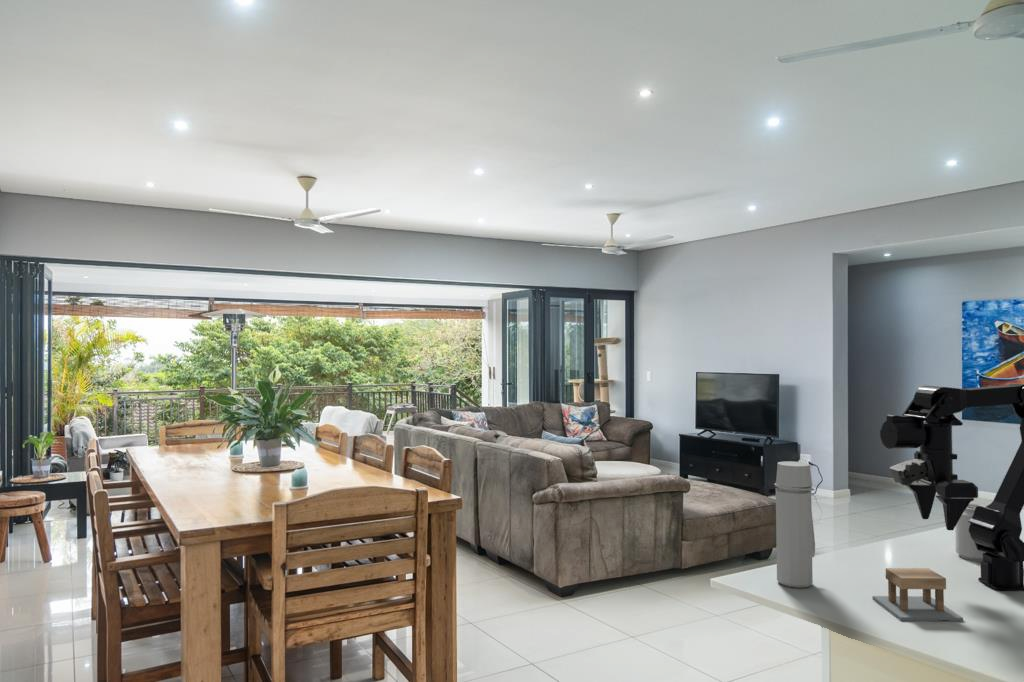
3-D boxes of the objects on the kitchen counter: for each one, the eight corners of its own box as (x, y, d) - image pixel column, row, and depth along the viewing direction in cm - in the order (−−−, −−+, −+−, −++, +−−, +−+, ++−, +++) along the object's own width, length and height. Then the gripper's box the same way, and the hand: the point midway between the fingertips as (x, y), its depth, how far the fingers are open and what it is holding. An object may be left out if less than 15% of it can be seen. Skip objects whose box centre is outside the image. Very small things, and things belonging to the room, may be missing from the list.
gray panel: (930, 599, 138) (930, 596, 138) (963, 621, 127) (963, 617, 127) (872, 599, 139) (872, 596, 139) (900, 620, 128) (900, 617, 128)
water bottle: (795, 591, 143) (794, 467, 144) (767, 580, 151) (765, 462, 151) (829, 585, 147) (827, 464, 147) (800, 574, 154) (798, 459, 155)
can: (993, 555, 167) (992, 504, 167) (994, 564, 160) (993, 510, 161) (956, 551, 171) (955, 501, 171) (955, 559, 164) (954, 507, 165)
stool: (886, 600, 136) (885, 568, 136) (929, 600, 136) (928, 568, 136) (901, 612, 130) (901, 578, 130) (946, 612, 130) (945, 578, 130)
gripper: (874, 441, 155) (875, 513, 154) (919, 454, 136) (920, 536, 136) (927, 441, 154) (928, 513, 154) (979, 454, 135) (980, 536, 135)
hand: (937, 524), depth 145 cm, fingers open, 9 cm apart
